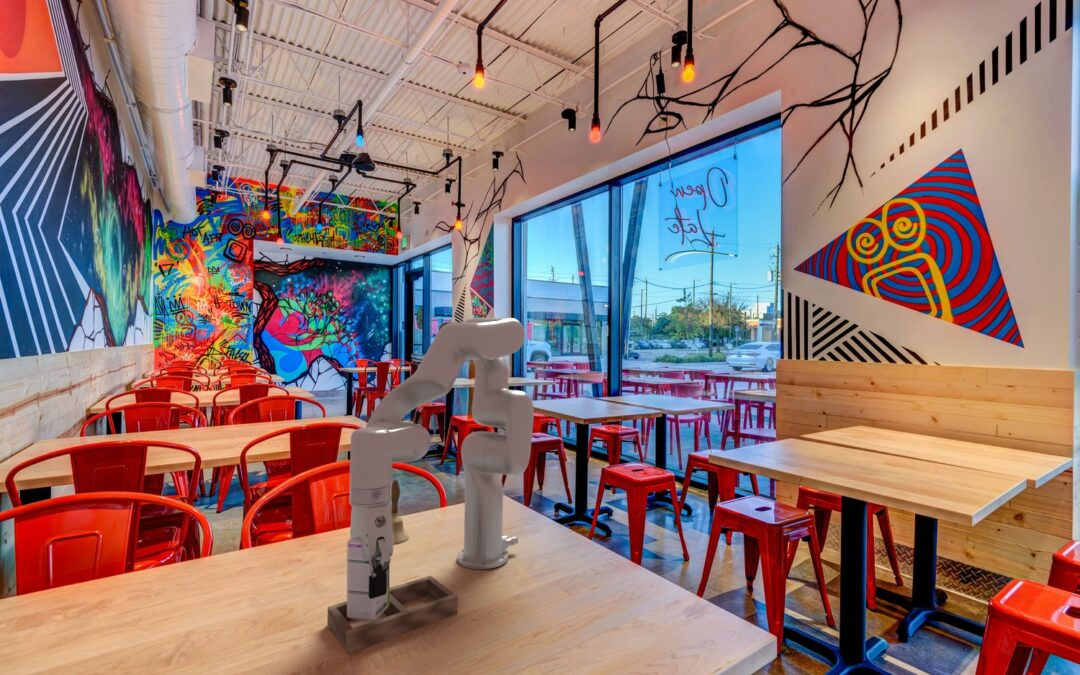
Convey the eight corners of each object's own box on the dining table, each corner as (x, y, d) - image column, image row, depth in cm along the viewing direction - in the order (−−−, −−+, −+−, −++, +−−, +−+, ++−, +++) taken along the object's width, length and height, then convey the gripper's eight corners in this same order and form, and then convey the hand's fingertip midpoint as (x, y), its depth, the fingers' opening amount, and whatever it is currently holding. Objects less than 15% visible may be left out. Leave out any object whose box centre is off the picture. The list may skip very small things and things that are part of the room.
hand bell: (410, 532, 146) (411, 475, 146) (408, 543, 138) (409, 483, 138) (379, 533, 145) (380, 476, 145) (375, 545, 137) (376, 485, 137)
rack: (430, 591, 112) (430, 575, 112) (457, 613, 103) (457, 596, 103) (327, 625, 98) (327, 607, 98) (348, 654, 90) (348, 633, 90)
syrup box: (374, 622, 94) (376, 542, 94) (345, 618, 95) (346, 539, 95) (389, 606, 100) (391, 531, 100) (361, 603, 101) (363, 528, 101)
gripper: (409, 501, 93) (407, 599, 93) (372, 480, 107) (370, 566, 107) (368, 509, 89) (366, 613, 89) (335, 486, 102) (333, 576, 102)
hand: (368, 586), depth 98 cm, fingers closed on syrup box, 7 cm apart
